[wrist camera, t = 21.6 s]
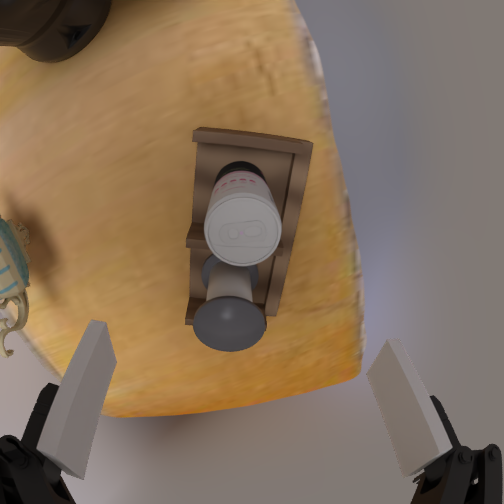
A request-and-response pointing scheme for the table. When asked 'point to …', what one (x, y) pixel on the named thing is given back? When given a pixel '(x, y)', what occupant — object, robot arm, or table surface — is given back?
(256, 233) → the beverage can
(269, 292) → the wooden divided tray
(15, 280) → the ornate lidded vase
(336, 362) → the table surface
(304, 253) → the table surface
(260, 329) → the cable reel
